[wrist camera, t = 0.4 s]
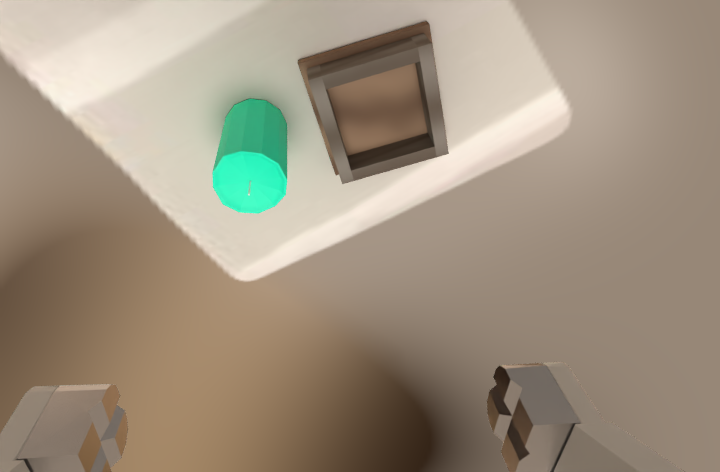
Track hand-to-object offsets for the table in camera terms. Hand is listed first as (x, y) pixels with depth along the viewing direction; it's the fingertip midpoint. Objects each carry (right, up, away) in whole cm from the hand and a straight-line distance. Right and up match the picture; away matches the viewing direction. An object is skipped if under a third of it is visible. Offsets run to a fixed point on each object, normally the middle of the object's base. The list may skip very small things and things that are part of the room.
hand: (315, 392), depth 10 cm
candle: (-9, +14, +36) cm, 40 cm away
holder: (+3, +16, +36) cm, 39 cm away
